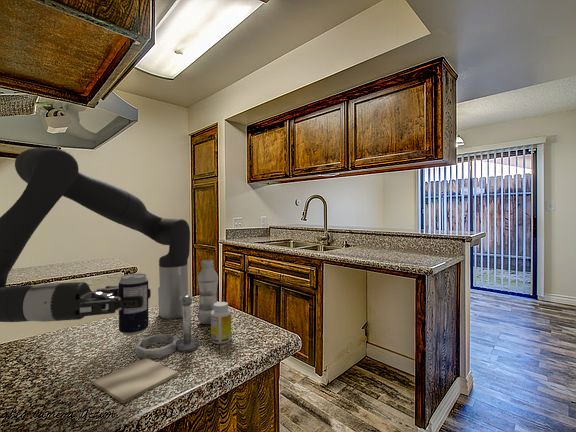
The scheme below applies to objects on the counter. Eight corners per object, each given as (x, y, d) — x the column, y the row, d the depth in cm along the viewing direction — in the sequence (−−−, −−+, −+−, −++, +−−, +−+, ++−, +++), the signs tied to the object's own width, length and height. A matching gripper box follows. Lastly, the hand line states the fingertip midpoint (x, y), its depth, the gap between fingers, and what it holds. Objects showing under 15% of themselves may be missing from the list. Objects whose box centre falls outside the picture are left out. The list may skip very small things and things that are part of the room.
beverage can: (153, 327, 69) (153, 273, 69) (138, 337, 63) (138, 279, 63) (129, 326, 70) (129, 272, 69) (112, 336, 64) (112, 278, 64)
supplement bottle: (233, 336, 89) (232, 300, 89) (229, 344, 84) (228, 306, 83) (213, 336, 89) (213, 300, 89) (208, 344, 84) (208, 307, 83)
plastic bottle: (209, 317, 104) (208, 258, 103) (223, 322, 100) (222, 260, 99) (193, 323, 99) (192, 261, 98) (207, 328, 95) (206, 263, 94)
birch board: (92, 383, 65) (92, 381, 65) (146, 360, 75) (146, 357, 75) (123, 403, 59) (123, 400, 59) (177, 374, 69) (177, 372, 69)
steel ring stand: (129, 351, 80) (128, 299, 79) (173, 334, 91) (172, 288, 90) (160, 366, 73) (158, 308, 72) (203, 345, 83) (203, 294, 83)
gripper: (37, 292, 57) (137, 288, 60) (75, 276, 71) (154, 273, 74) (38, 333, 57) (137, 327, 60) (75, 308, 71) (154, 304, 74)
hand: (146, 297), depth 67 cm, fingers closed on beverage can, 5 cm apart
